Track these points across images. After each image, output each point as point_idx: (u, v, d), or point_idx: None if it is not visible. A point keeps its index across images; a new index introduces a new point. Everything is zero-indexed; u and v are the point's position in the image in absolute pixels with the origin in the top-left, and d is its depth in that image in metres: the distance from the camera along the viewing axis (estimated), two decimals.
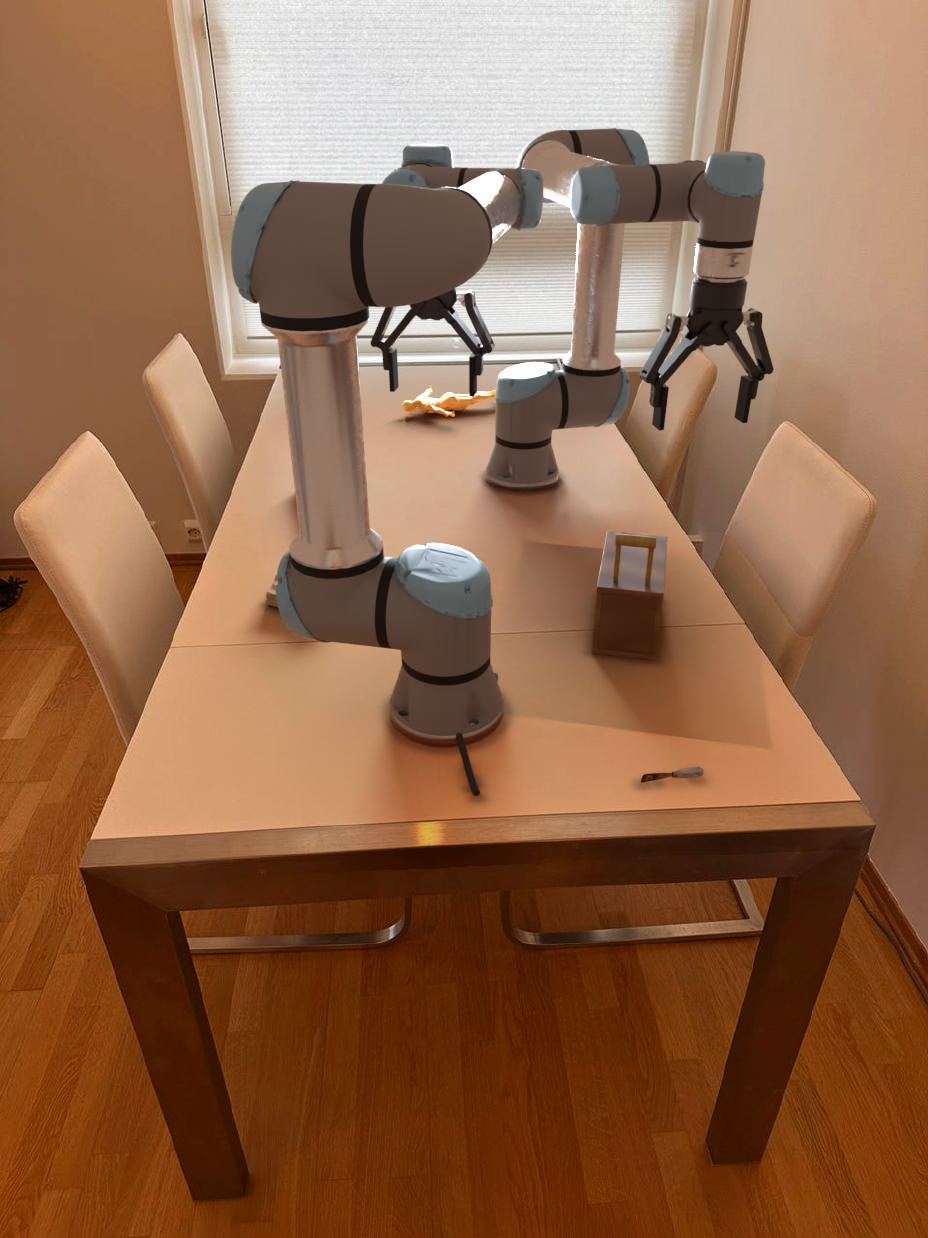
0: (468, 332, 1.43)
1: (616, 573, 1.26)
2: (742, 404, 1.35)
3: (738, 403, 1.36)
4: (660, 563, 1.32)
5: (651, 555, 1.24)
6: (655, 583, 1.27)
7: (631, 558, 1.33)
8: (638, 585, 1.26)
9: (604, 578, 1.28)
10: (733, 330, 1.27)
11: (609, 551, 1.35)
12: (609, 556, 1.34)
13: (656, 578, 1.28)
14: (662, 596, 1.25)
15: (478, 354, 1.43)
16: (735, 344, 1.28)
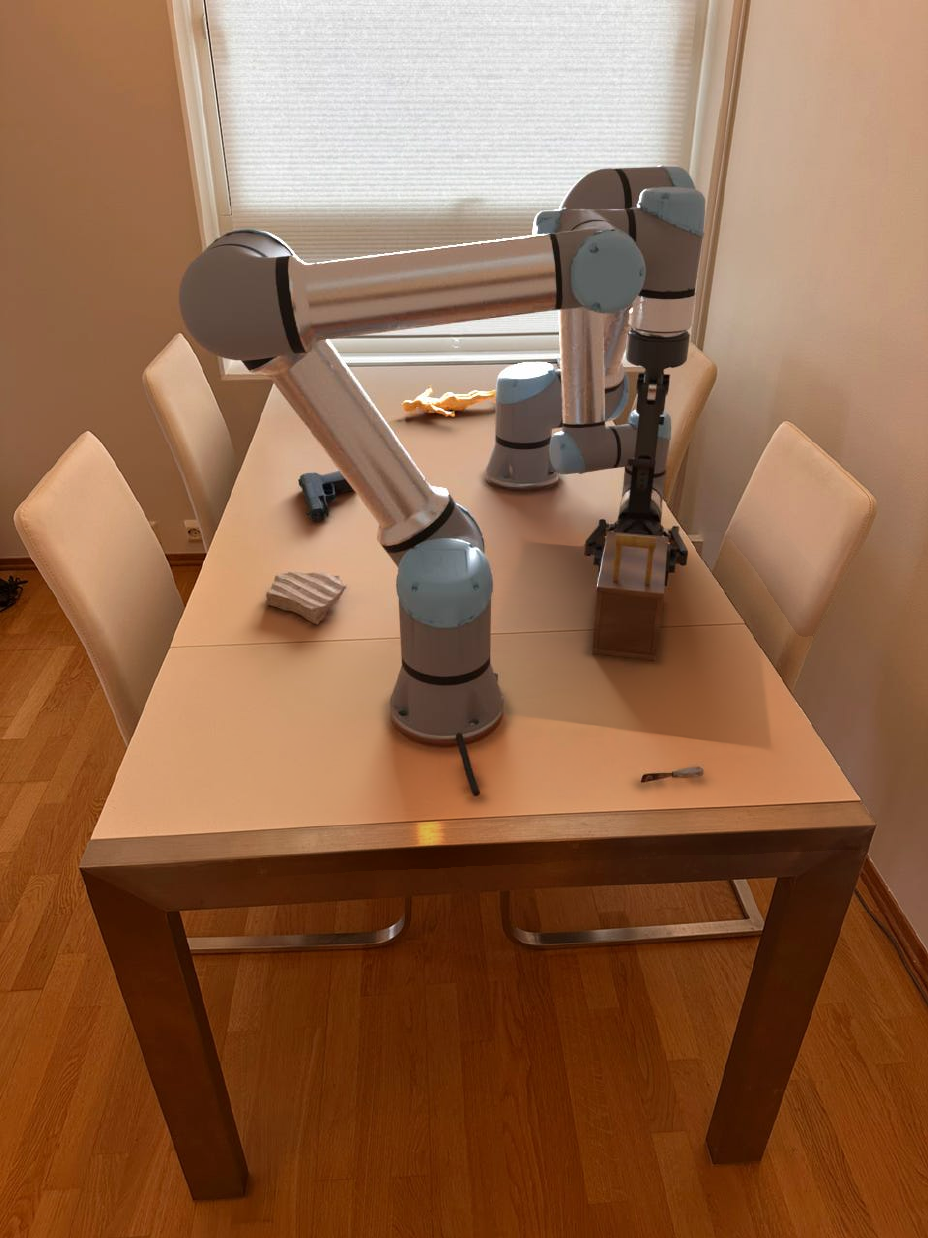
0: None
1: (617, 573, 1.26)
2: None
3: None
4: (660, 563, 1.32)
5: (651, 555, 1.24)
6: (655, 583, 1.27)
7: (631, 558, 1.33)
8: (638, 585, 1.26)
9: (604, 578, 1.28)
10: None
11: (609, 551, 1.35)
12: (609, 556, 1.34)
13: (656, 578, 1.28)
14: (662, 596, 1.25)
15: None
16: None
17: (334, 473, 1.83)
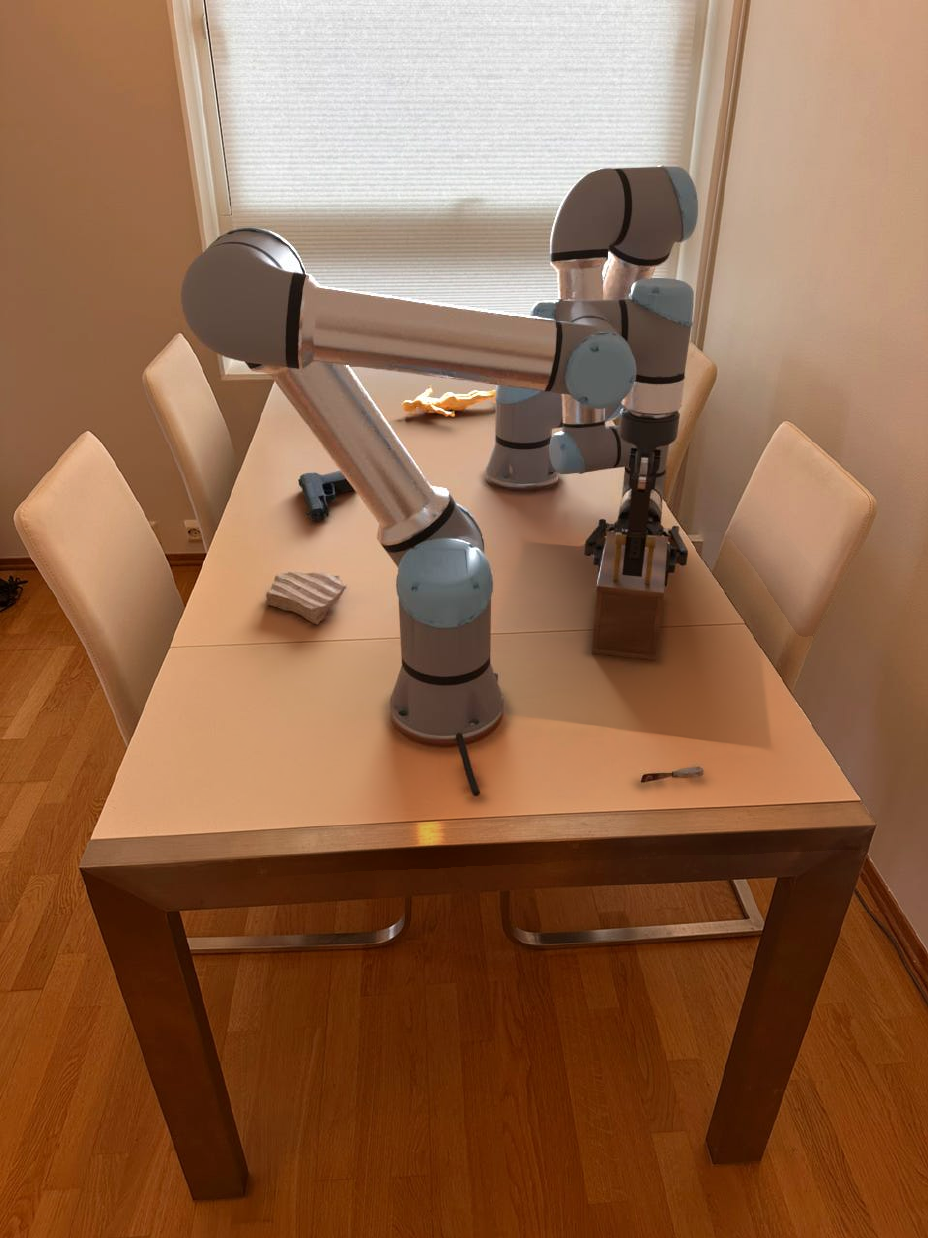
0: None
1: (617, 572, 1.26)
2: None
3: None
4: (660, 563, 1.32)
5: (651, 554, 1.24)
6: (655, 582, 1.27)
7: None
8: (638, 584, 1.26)
9: (604, 577, 1.28)
10: None
11: (609, 551, 1.35)
12: (609, 555, 1.34)
13: (656, 578, 1.28)
14: (662, 595, 1.24)
15: (652, 520, 1.24)
16: None
17: (334, 473, 1.83)
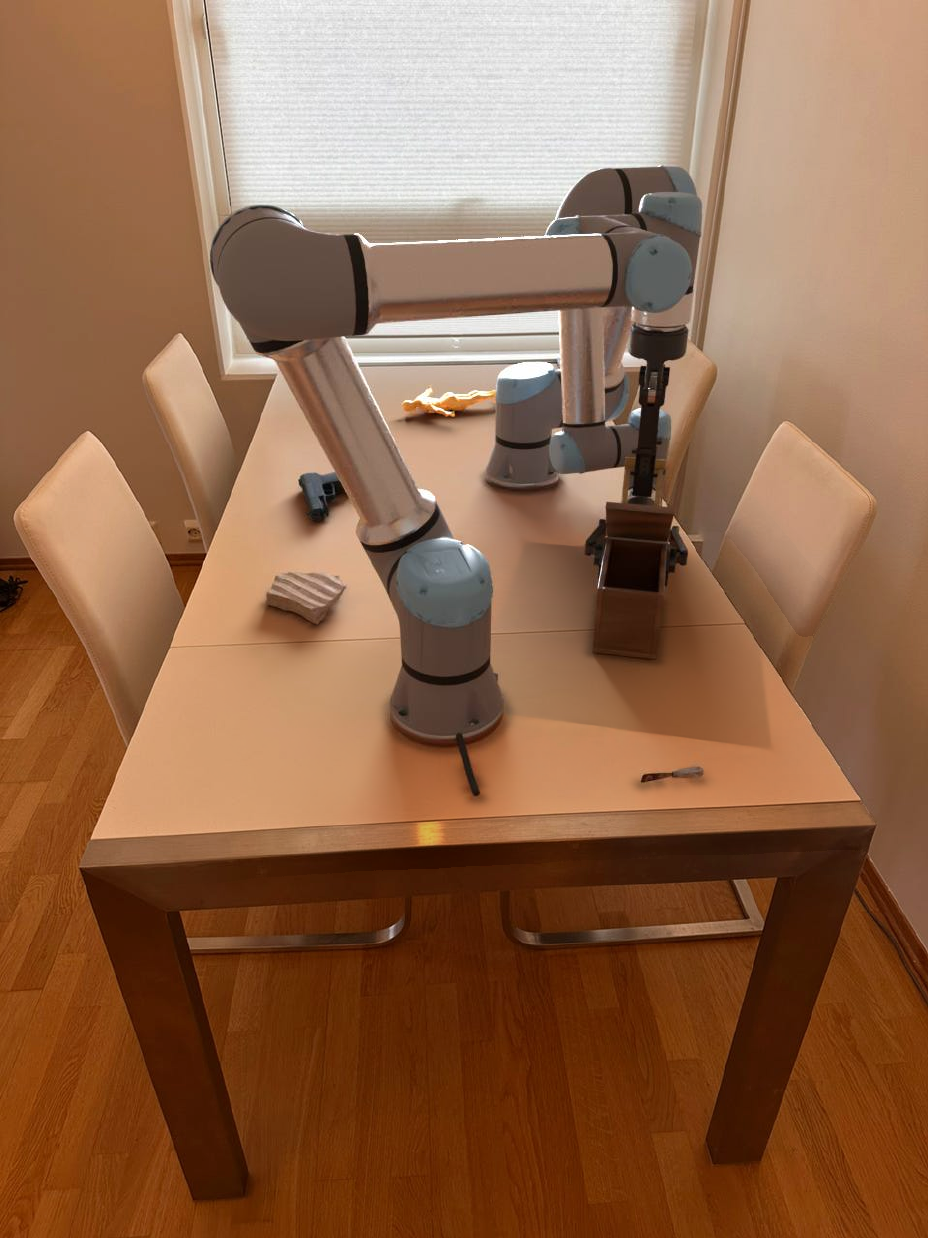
0: None
1: (626, 497, 1.25)
2: None
3: None
4: None
5: (660, 476, 1.25)
6: None
7: None
8: None
9: None
10: None
11: None
12: None
13: None
14: (673, 510, 1.22)
15: (661, 441, 1.26)
16: None
17: (334, 473, 1.83)
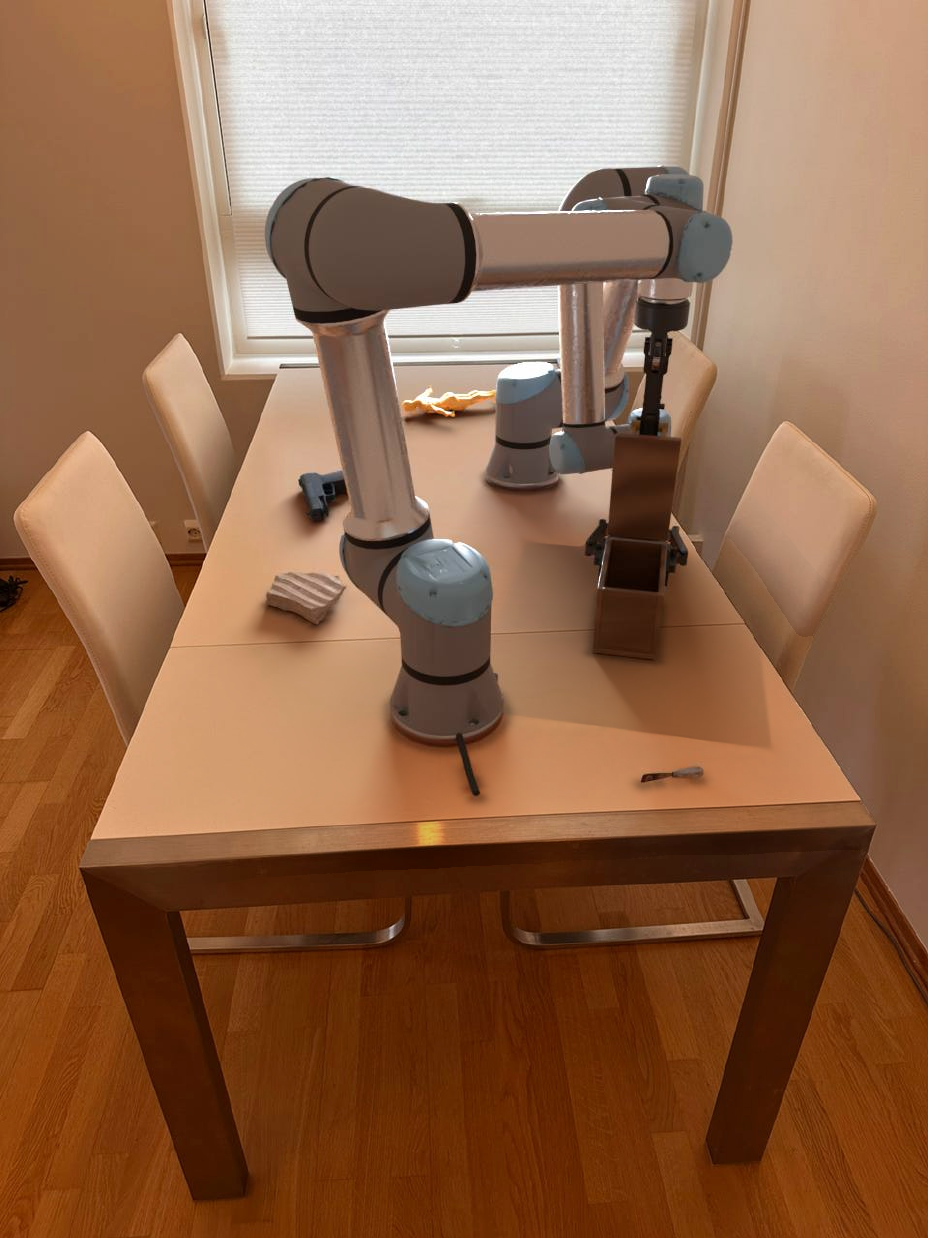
0: None
1: None
2: None
3: None
4: None
5: (665, 431, 1.33)
6: None
7: None
8: None
9: None
10: None
11: None
12: None
13: None
14: (680, 439, 1.27)
15: (664, 406, 1.36)
16: None
17: (334, 473, 1.83)
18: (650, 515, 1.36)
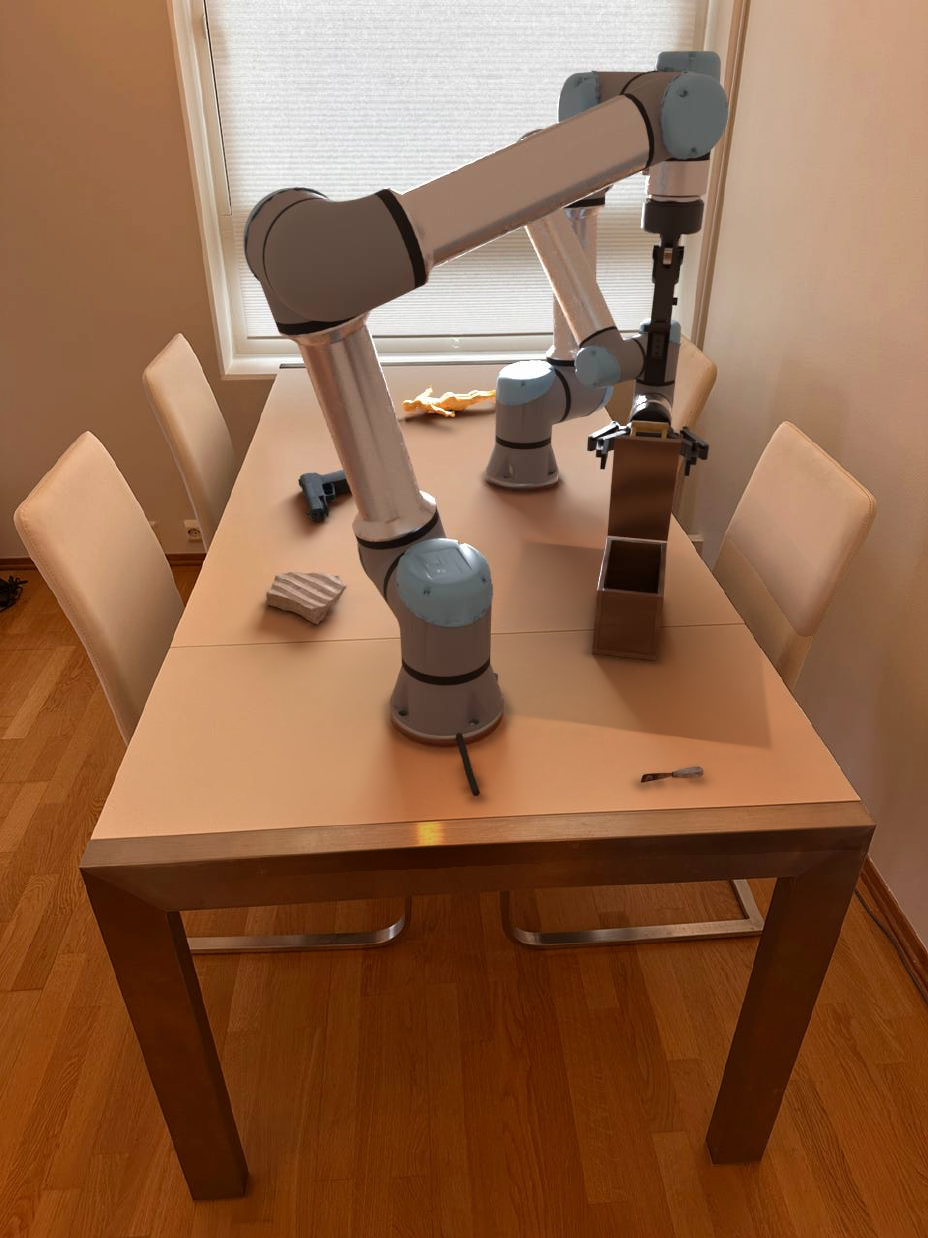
0: None
1: None
2: (606, 458, 1.49)
3: None
4: None
5: (665, 432, 1.32)
6: None
7: None
8: None
9: None
10: None
11: None
12: None
13: None
14: (680, 441, 1.27)
15: (677, 300, 1.25)
16: None
17: (334, 473, 1.83)
18: (650, 516, 1.36)
